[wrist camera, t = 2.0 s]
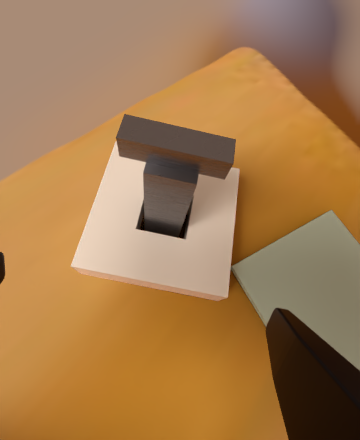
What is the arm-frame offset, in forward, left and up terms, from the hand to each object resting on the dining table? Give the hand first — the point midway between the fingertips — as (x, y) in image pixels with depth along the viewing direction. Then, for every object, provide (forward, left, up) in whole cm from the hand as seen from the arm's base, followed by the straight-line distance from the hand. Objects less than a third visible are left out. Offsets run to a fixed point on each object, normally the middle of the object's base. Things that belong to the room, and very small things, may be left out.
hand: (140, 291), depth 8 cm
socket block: (+6, -5, -13) cm, 16 cm away
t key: (+6, -5, -13) cm, 16 cm away
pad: (-7, -15, -13) cm, 21 cm away
